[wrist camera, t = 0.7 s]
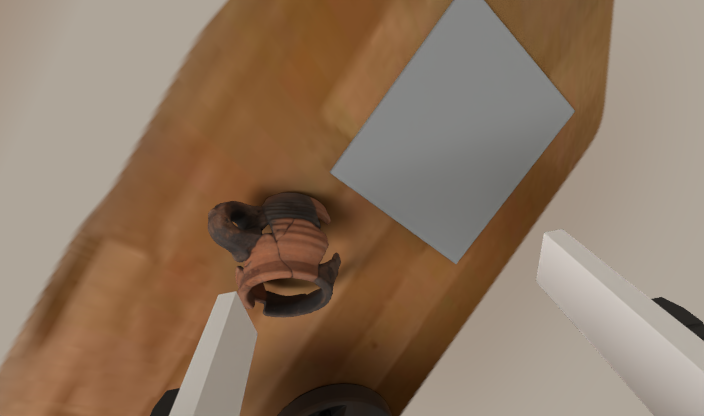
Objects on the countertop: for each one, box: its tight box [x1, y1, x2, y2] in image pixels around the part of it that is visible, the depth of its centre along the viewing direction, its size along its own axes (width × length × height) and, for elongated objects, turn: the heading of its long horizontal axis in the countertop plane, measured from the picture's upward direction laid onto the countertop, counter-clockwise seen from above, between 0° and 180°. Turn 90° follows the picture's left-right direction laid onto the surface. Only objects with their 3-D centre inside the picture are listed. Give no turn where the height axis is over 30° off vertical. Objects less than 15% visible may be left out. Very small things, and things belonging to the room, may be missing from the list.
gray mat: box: [330, 0, 575, 264], centre depth 29 cm, size 20×17×1 cm
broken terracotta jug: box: [208, 193, 341, 317], centre depth 26 cm, size 12×9×8 cm
